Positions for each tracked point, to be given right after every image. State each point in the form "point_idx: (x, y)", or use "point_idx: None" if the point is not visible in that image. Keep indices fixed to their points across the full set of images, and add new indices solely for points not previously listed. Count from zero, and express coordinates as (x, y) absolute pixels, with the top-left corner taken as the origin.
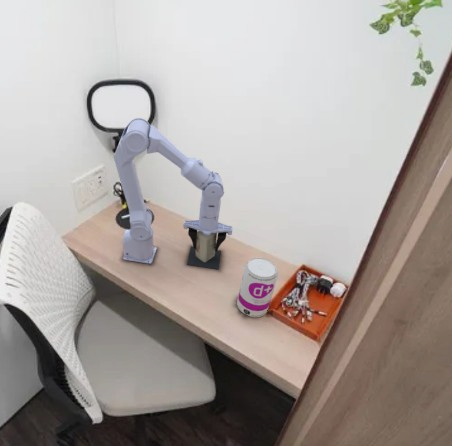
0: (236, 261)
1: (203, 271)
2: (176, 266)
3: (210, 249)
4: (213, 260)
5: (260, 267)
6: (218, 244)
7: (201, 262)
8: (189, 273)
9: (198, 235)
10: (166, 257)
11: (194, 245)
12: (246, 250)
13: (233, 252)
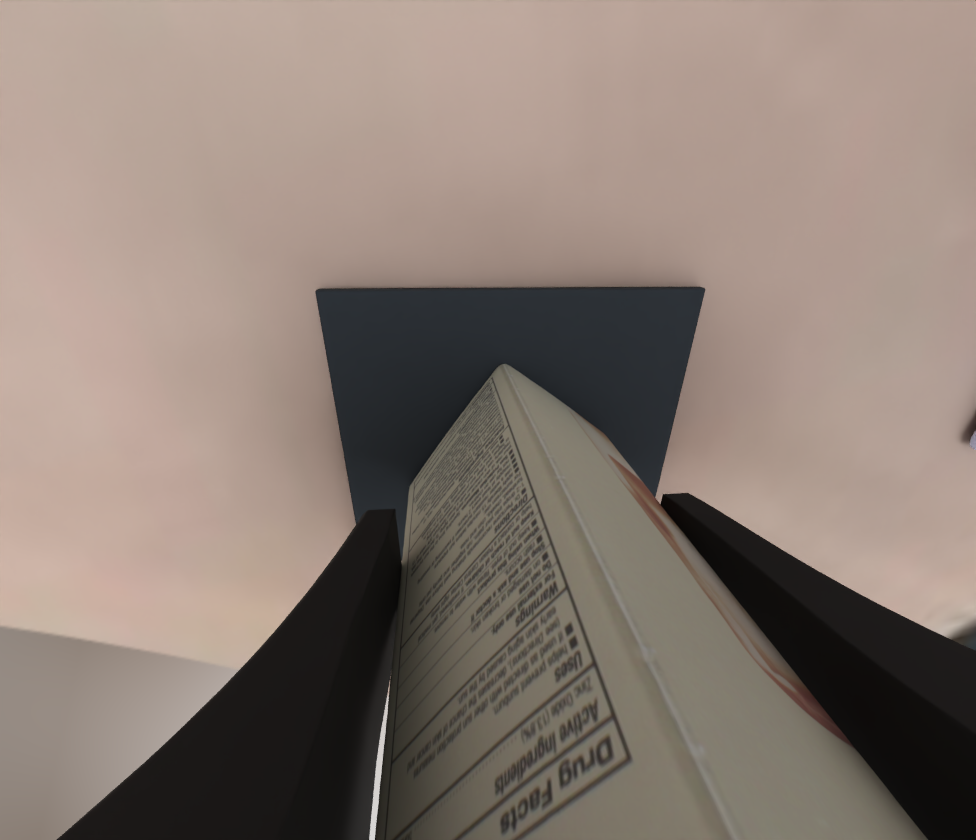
0: (169, 472)
1: (500, 212)
2: (823, 227)
3: (462, 519)
4: (409, 421)
5: None
6: (296, 653)
7: (537, 357)
8: (679, 122)
9: (900, 828)
10: (898, 351)
11: (730, 529)
12: (140, 621)
13: (246, 573)
